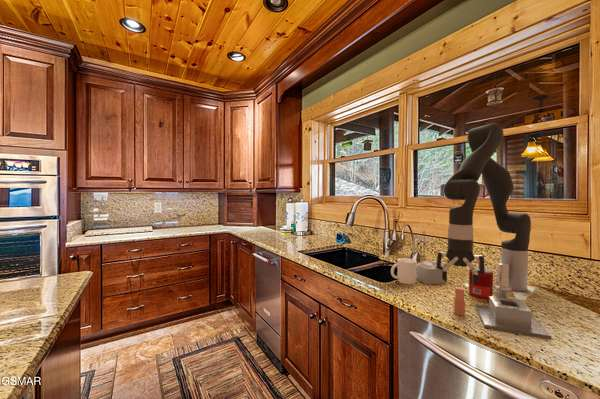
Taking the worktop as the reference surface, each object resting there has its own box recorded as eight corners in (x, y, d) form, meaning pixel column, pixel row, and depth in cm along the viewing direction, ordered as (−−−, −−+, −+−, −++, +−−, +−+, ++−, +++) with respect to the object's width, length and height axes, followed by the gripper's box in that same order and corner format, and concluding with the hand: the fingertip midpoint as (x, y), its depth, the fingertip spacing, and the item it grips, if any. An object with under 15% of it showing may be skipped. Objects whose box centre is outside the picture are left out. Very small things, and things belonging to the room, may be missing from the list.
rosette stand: (474, 304, 100) (474, 259, 99) (527, 312, 93) (528, 264, 92) (484, 327, 83) (485, 274, 82) (551, 339, 76) (552, 281, 76)
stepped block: (453, 310, 95) (454, 285, 94) (463, 312, 93) (464, 287, 93) (454, 314, 92) (455, 288, 92) (464, 316, 91) (465, 290, 90)
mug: (394, 285, 120) (394, 263, 120) (386, 279, 128) (387, 258, 128) (419, 284, 121) (420, 262, 121) (410, 278, 129) (410, 257, 129)
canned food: (496, 299, 104) (496, 272, 104) (473, 298, 105) (474, 271, 105) (486, 292, 111) (487, 266, 111) (465, 291, 113) (466, 265, 113)
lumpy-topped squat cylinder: (413, 277, 131) (413, 260, 130) (435, 275, 134) (436, 258, 133) (428, 285, 120) (429, 266, 120) (452, 282, 124) (452, 264, 123)
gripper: (482, 237, 92) (481, 282, 93) (436, 234, 98) (435, 277, 99) (487, 240, 85) (486, 290, 86) (437, 237, 91) (436, 283, 92)
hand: (459, 283), depth 92 cm, fingers open, 8 cm apart
